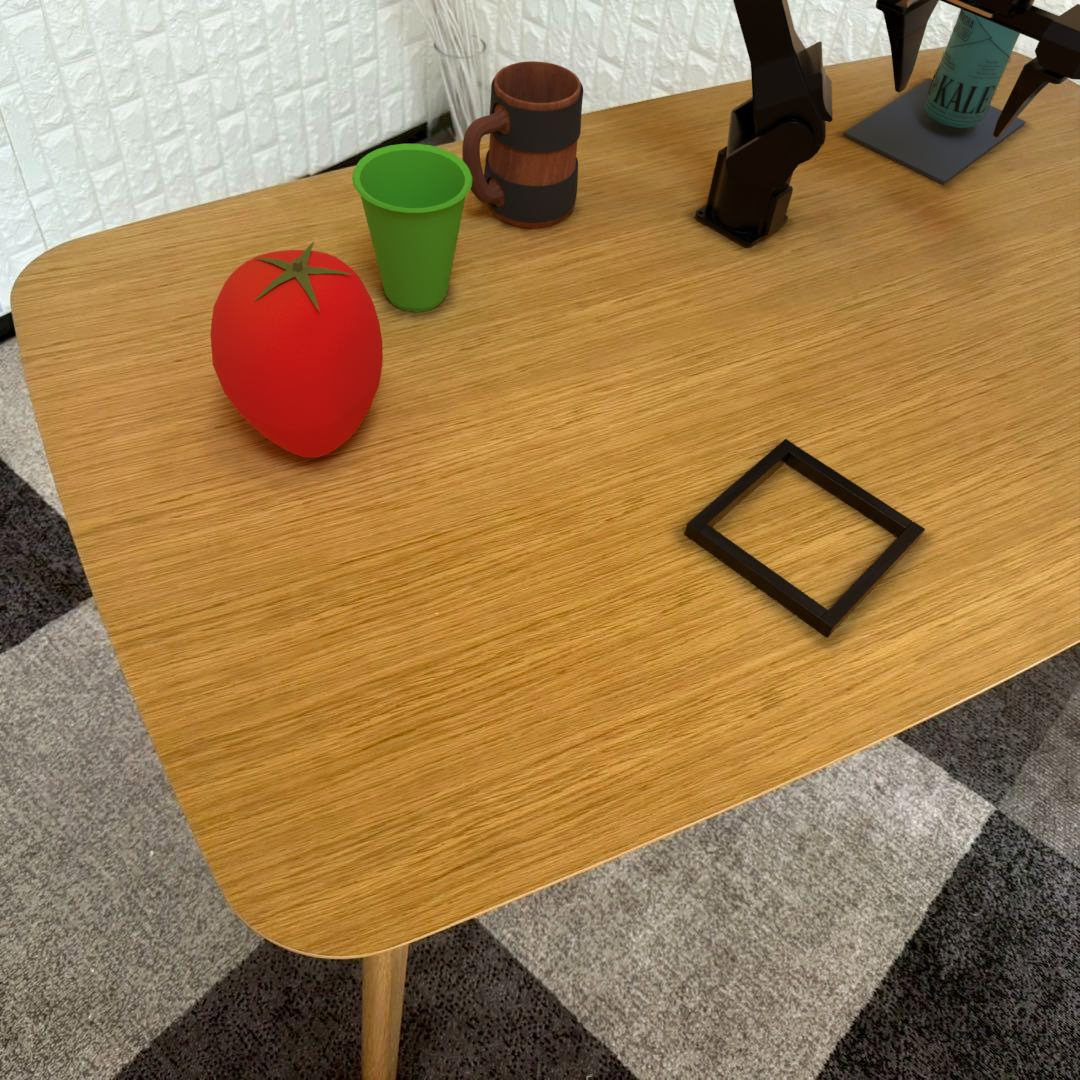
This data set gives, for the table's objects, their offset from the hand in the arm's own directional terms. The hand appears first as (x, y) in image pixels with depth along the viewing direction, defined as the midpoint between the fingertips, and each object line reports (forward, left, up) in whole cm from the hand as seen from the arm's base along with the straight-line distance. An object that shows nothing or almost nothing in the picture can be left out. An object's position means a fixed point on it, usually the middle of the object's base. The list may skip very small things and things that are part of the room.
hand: (947, 112), depth 85 cm
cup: (-24, -38, -13) cm, 47 cm away
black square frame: (+14, -36, -13) cm, 41 cm away
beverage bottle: (-7, +23, -13) cm, 27 cm away
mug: (-27, -23, -13) cm, 38 cm away
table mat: (-8, +22, -13) cm, 27 cm away
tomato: (-18, -54, -13) cm, 59 cm away
